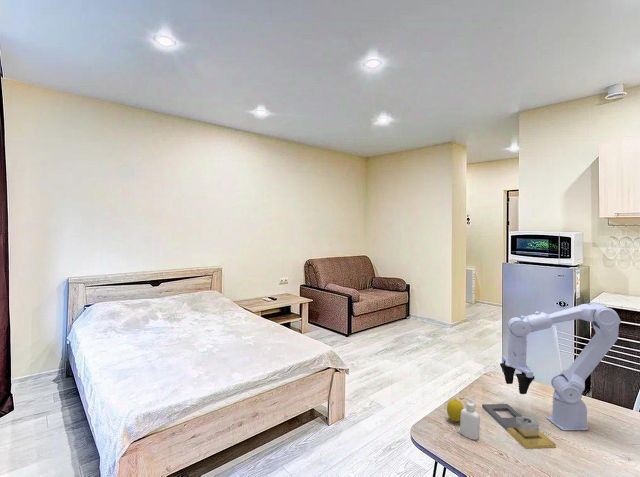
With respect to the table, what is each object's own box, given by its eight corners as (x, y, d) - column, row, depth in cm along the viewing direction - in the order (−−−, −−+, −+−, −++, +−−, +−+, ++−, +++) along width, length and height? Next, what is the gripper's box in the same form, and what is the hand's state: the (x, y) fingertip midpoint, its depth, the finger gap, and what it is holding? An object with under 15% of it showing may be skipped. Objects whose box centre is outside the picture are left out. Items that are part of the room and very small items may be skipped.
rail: (507, 406, 128) (507, 403, 128) (555, 447, 104) (555, 444, 104) (482, 407, 127) (482, 404, 127) (525, 448, 103) (525, 445, 103)
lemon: (465, 427, 114) (465, 404, 113) (448, 425, 115) (448, 402, 114) (461, 418, 119) (462, 396, 119) (445, 416, 120) (445, 394, 120)
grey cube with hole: (528, 431, 112) (529, 416, 112) (538, 439, 107) (538, 424, 107) (515, 431, 111) (516, 416, 111) (524, 440, 107) (525, 424, 107)
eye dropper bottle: (468, 429, 112) (469, 394, 112) (481, 439, 107) (482, 402, 107) (458, 431, 111) (459, 396, 111) (470, 442, 106) (471, 404, 105)
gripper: (494, 344, 128) (493, 379, 128) (519, 359, 113) (518, 398, 114) (512, 344, 128) (511, 379, 129) (539, 359, 114) (538, 398, 114)
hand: (515, 388), depth 121 cm, fingers open, 7 cm apart
